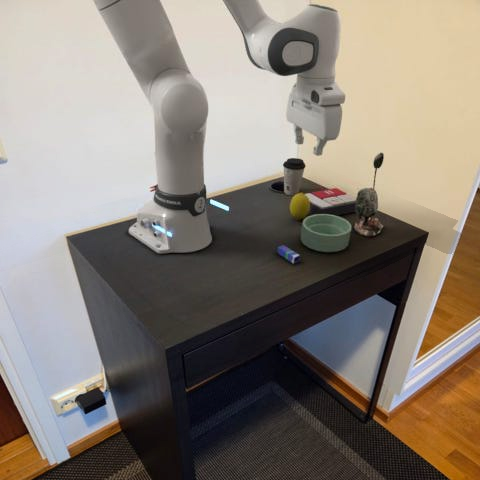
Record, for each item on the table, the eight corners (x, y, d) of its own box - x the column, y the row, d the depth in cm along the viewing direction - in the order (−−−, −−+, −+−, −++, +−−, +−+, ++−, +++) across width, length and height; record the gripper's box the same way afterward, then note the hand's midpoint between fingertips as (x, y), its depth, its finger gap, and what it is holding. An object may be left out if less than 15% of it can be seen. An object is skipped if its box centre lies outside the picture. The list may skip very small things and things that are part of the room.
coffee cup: (285, 197, 137) (288, 165, 131) (277, 189, 142) (279, 157, 136) (306, 195, 139) (310, 163, 133) (296, 187, 144) (300, 156, 138)
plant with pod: (340, 229, 121) (353, 155, 109) (368, 219, 126) (384, 148, 114) (361, 241, 116) (378, 165, 104) (391, 231, 121) (410, 157, 109)
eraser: (293, 264, 106) (294, 257, 105) (277, 254, 110) (277, 246, 108) (299, 262, 107) (300, 254, 106) (283, 251, 111) (283, 244, 109)
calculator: (361, 199, 129) (322, 206, 122) (358, 213, 131) (319, 221, 124) (336, 186, 136) (298, 193, 129) (333, 199, 138) (295, 207, 132)
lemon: (299, 226, 122) (302, 198, 117) (284, 219, 125) (287, 192, 120) (312, 220, 125) (315, 193, 120) (297, 214, 128) (300, 187, 123)
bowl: (292, 243, 114) (293, 225, 111) (315, 227, 122) (317, 210, 119) (334, 258, 109) (337, 240, 105) (355, 240, 116) (359, 223, 113)
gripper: (282, 81, 111) (278, 138, 119) (325, 99, 96) (317, 163, 105) (304, 80, 113) (299, 136, 121) (350, 97, 98) (340, 160, 107)
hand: (308, 149), depth 113 cm, fingers open, 8 cm apart
